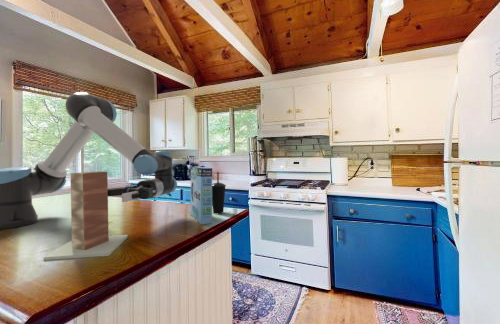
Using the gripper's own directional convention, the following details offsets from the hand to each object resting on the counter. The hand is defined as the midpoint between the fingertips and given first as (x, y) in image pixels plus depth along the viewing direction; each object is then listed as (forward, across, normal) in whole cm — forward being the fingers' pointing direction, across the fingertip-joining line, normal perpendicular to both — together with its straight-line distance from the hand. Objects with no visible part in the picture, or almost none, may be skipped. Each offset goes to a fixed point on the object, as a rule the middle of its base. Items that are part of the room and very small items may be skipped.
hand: (105, 197), depth 79 cm
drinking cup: (-46, -20, -15) cm, 52 cm away
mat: (+6, 0, -14) cm, 15 cm away
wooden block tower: (+6, 0, -14) cm, 15 cm away
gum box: (-33, -17, -15) cm, 40 cm away
